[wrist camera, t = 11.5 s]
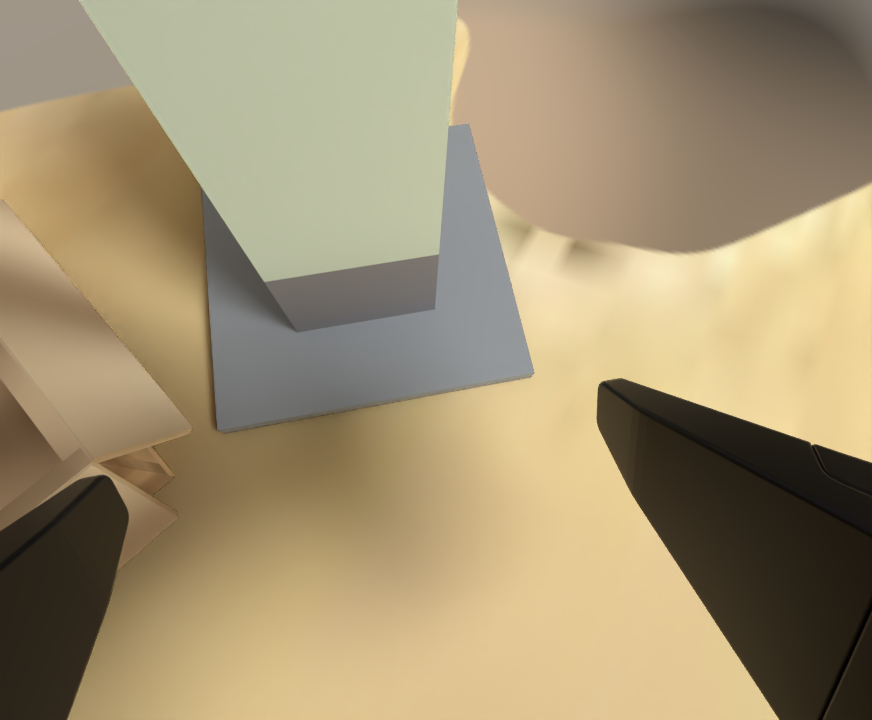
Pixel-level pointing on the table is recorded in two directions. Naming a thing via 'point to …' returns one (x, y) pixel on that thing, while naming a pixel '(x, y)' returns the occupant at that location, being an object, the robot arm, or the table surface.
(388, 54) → the box
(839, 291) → the table surface
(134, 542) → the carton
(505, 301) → the coaster
